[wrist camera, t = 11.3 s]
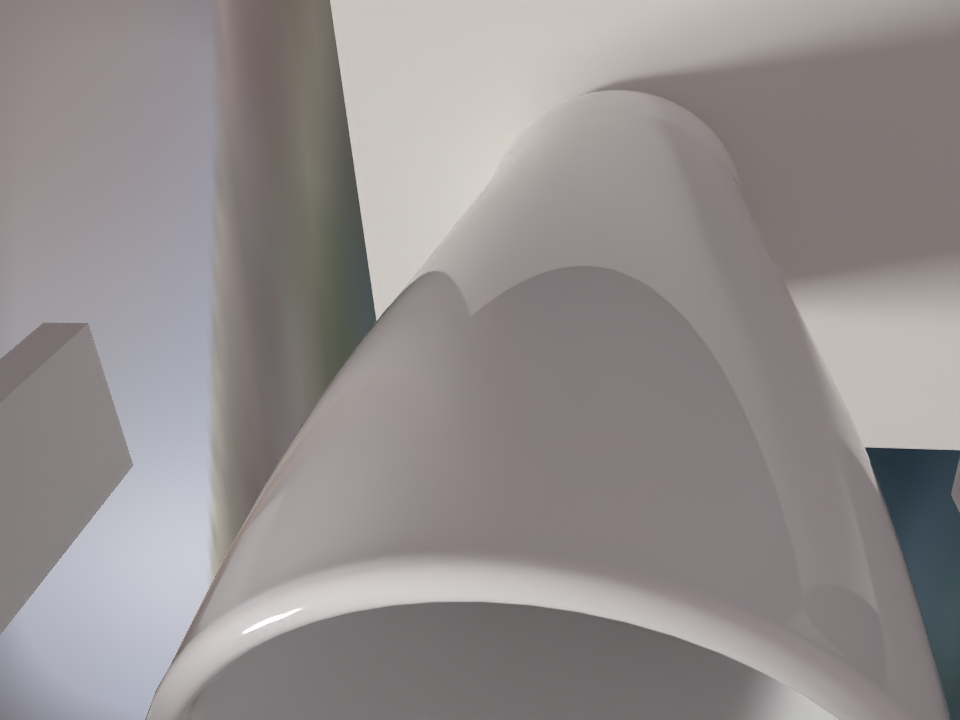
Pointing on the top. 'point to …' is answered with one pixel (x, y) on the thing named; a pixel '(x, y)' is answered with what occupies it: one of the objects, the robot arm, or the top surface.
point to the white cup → (574, 477)
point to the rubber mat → (740, 126)
